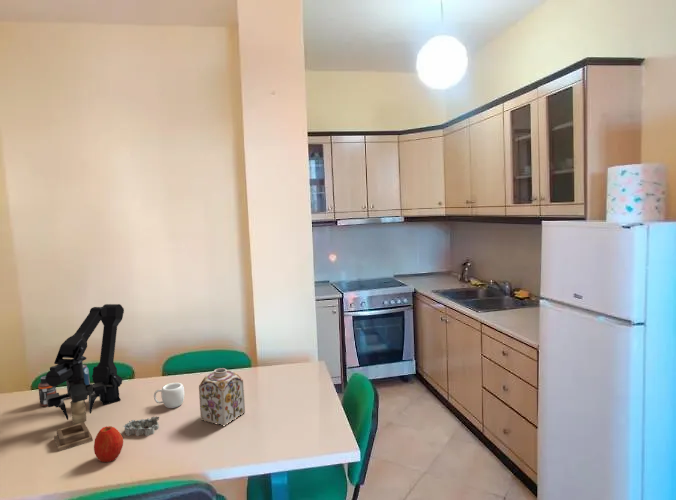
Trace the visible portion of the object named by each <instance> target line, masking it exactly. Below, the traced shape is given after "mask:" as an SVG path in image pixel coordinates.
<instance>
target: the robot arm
mask: <svg viewBox="0 0 676 500" xmlns="http://www.w3.org/2000/svg"><path fill="white" fill-rule="evenodd" d="M124 314H125V308H124V307H123V305H122V304H120V303H106V304H104V305H102V306H93V307H91V308H90V309H89V313H88V315H87V316H86V317H85V318H84V320H83V322H82V323H81V324H80V326H79V327H78V328H77V330H76V332H75V333H74V334H72V335H70V336H69V337H68V338H66V339H65V340H64V341H63V342H62V343H61V345H60V347H59V349H58V352H57V354H56V357H55V360H54V365H53V366H50V367H49V371H48V372H47V373H46V374H45V376H46V377H45V379H46V382H47V383H48V385H50V386H52V387H56V388H57V387H58V386H60V385H62V384H64V383H65V382H66V391H67V393H63V394H60V393H59V392H56V393H54V394H50V395H47V397H46V402H47V405H48V406H47V407H48V408H52V407H55V408H59V409H60V410H61V412H62V413H63V414H64V417H65V418H66V420H67V421H68V420H69V415H68V411H67V407H66V404H65V400H68V399H71V401H72V402H73V403H76V402H78V401H82V400H85V401H87V400H88V412H89V414H92V412H93V409H94V408H93V407H94V404H95V401H96V399H97V398H99V402H100V403H101V404H102V405H103V406H105V405H106V406H107V405H109V404H112V403H116V402H117V403H118V402H120V401H121V397H120V389H119V387H121V385H122V384H123V378H122V377H121V376H120V375H118V369H117V367H116V364H115V362H114V359H115V350H116V349H115V348H116V341H117V331H118V326H119V324H120V323H121V322H122V321H123V318H124V317H123V316H124ZM100 322H101V323H102V325H103V329H102V330H103V331H102V339H101V347H100V355H99V363H98V364H97V365H96V366H94V367H93V368H92V375H91V378H92V382H93V383H90V384H89V385H86V384H85V381H84V372H83V364H84V361H85V360H87V357H86V356H84V354H85V351H87V348H88V341H89V338H90V337H91V336H92V334H93V333H94V332H95V330H96V328H97V326H98V325H99V323H100Z"/></svg>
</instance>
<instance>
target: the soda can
mask: <svg viewBox="0 0 676 500" xmlns="http://www.w3.org/2000/svg"><path fill="white" fill-rule="evenodd" d="M83 372H84V381H85V384H86V385H89V384H91V383H90V371H89V367H88V366H87V364H85V363H83Z"/></svg>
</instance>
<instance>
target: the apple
mask: <svg viewBox="0 0 676 500" xmlns="http://www.w3.org/2000/svg"><path fill="white" fill-rule="evenodd" d="M123 446H124V437H123V435H122V434H121V432H120V431H119V430H118V429H117V428H115V427H114V426H109V425H108V426H107V425H106V426H104V427H102V428H101V429H100V430H99V431H98V433H97V434H96V436H95V438H94V445H93V452H94V454H95V457H96V458H97V460H98V461H100V462H101V463H111V462H114V461H115V460H116V459H117V458H119V457H120V456H119V455H120V454H121V452H122V450H123Z"/></svg>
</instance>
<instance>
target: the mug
mask: <svg viewBox="0 0 676 500" xmlns="http://www.w3.org/2000/svg"><path fill="white" fill-rule="evenodd" d="M158 392H160V393H161V401H158V399H157V393H158ZM153 398H154V402H155V403H157V404H163V405H164V406H165V408H168V409H175V408H178V407H180V406H181V405H182V404H183V402H184V399H185V388H184V385H183V383H180V382H171V383H167V384H166V385H163V386H162V388H161V389H157V390H155V392H154V394H153Z"/></svg>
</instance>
